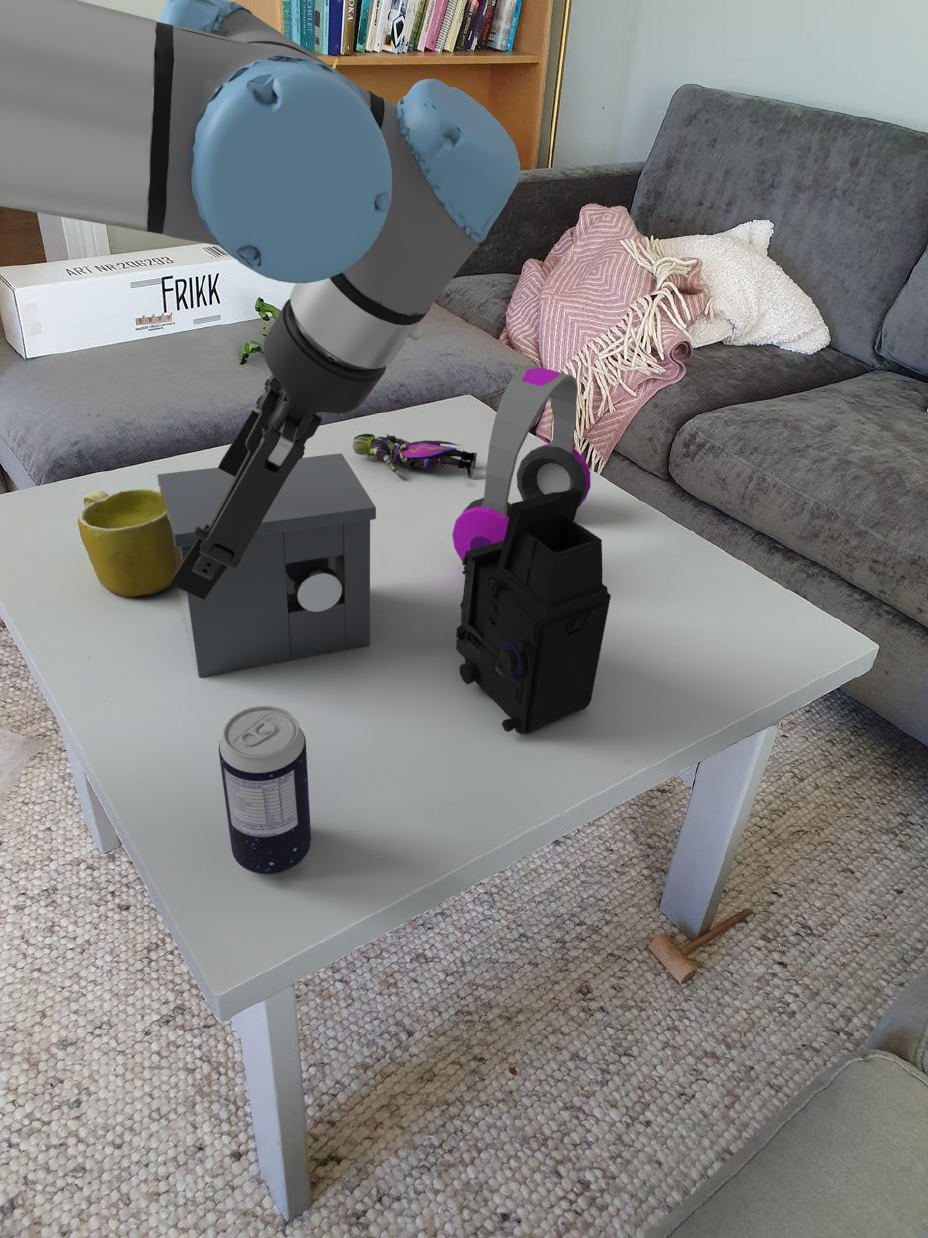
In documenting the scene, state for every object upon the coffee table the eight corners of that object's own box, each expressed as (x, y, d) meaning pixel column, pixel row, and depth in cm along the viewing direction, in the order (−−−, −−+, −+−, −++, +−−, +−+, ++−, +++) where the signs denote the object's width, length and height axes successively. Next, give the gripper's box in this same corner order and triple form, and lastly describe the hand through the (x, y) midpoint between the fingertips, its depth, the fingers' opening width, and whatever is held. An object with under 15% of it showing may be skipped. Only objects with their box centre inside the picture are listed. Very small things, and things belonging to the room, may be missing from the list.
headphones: (516, 596, 96) (538, 417, 84) (443, 570, 99) (454, 394, 87) (590, 514, 111) (617, 353, 99) (525, 494, 114) (543, 336, 102)
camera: (514, 629, 91) (535, 443, 79) (603, 708, 82) (642, 512, 70) (429, 660, 86) (438, 467, 74) (513, 747, 77) (540, 544, 66)
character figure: (478, 459, 122) (361, 440, 123) (481, 433, 120) (362, 414, 121) (467, 492, 114) (343, 471, 115) (471, 465, 112) (343, 444, 113)
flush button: (298, 615, 81) (296, 577, 78) (294, 606, 82) (292, 569, 79) (342, 607, 82) (341, 570, 80) (338, 599, 83) (337, 562, 81)
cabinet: (194, 681, 82) (173, 534, 73) (177, 613, 90) (157, 474, 81) (375, 647, 87) (376, 507, 78) (344, 586, 95) (341, 452, 86)
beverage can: (327, 850, 67) (322, 730, 60) (266, 896, 64) (253, 774, 57) (278, 809, 70) (268, 690, 63) (216, 851, 67) (198, 730, 60)
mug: (221, 568, 93) (173, 486, 87) (132, 625, 90) (75, 543, 84) (181, 535, 102) (135, 458, 96) (99, 585, 99) (46, 509, 93)
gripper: (361, 483, 52) (215, 668, 65) (412, 271, 68) (287, 453, 82) (239, 415, 49) (113, 623, 62) (324, 211, 66) (210, 410, 79)
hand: (212, 527), depth 72 cm, fingers open, 13 cm apart
